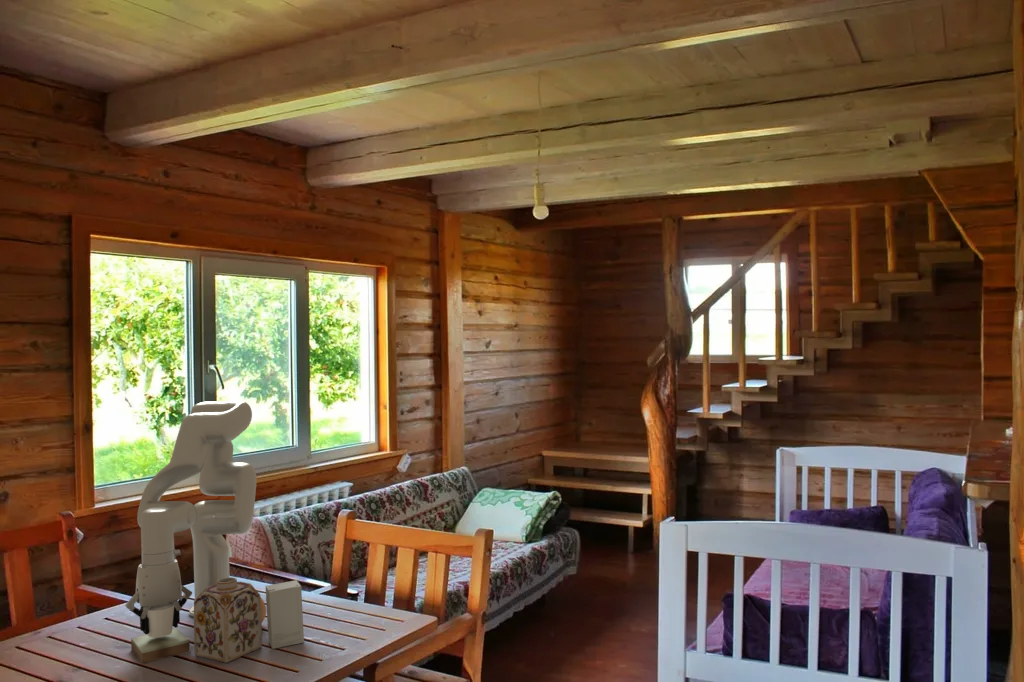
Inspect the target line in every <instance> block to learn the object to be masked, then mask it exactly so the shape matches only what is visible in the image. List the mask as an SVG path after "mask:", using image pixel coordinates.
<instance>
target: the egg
mask: <svg viewBox="0 0 1024 682" xmlns="http://www.w3.org/2000/svg"><path fill="white" fill-rule="evenodd" d="M260 598H261V624H262V623H263V622H264V620H265V619H266V617H267V605H266V603H265V602H264V600H263V598H262V597H261V596H260Z"/></svg>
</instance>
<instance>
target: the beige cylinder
mask: <svg viewBox="0 0 1024 682" xmlns="http://www.w3.org/2000/svg"><path fill="white" fill-rule="evenodd" d="M173 614H174V605H173V603H172V602H169V603H164V604H160V605H155V606H150V608H149V610H148V613H147V618H148V623H149V633H148V634H147V635H148V636H149V637H152V638H158V637H164V636H167V635H169V634H171V633H172V629H173V627H174V626H173Z"/></svg>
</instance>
